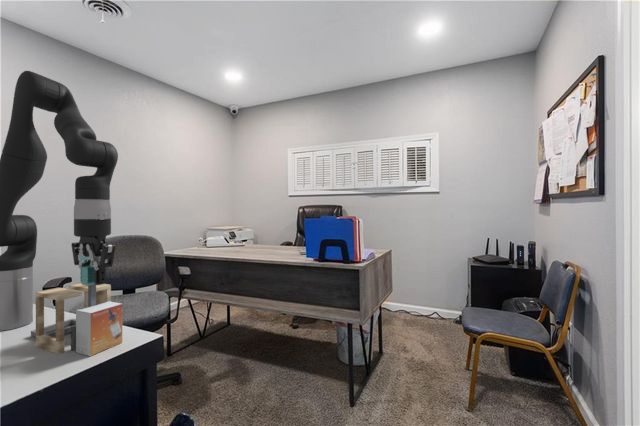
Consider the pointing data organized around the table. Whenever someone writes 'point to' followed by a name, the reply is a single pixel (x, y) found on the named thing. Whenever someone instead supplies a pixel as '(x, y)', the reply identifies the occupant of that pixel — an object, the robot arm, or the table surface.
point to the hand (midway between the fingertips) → (93, 282)
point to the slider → (88, 280)
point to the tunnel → (62, 312)
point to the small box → (98, 327)
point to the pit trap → (52, 328)
